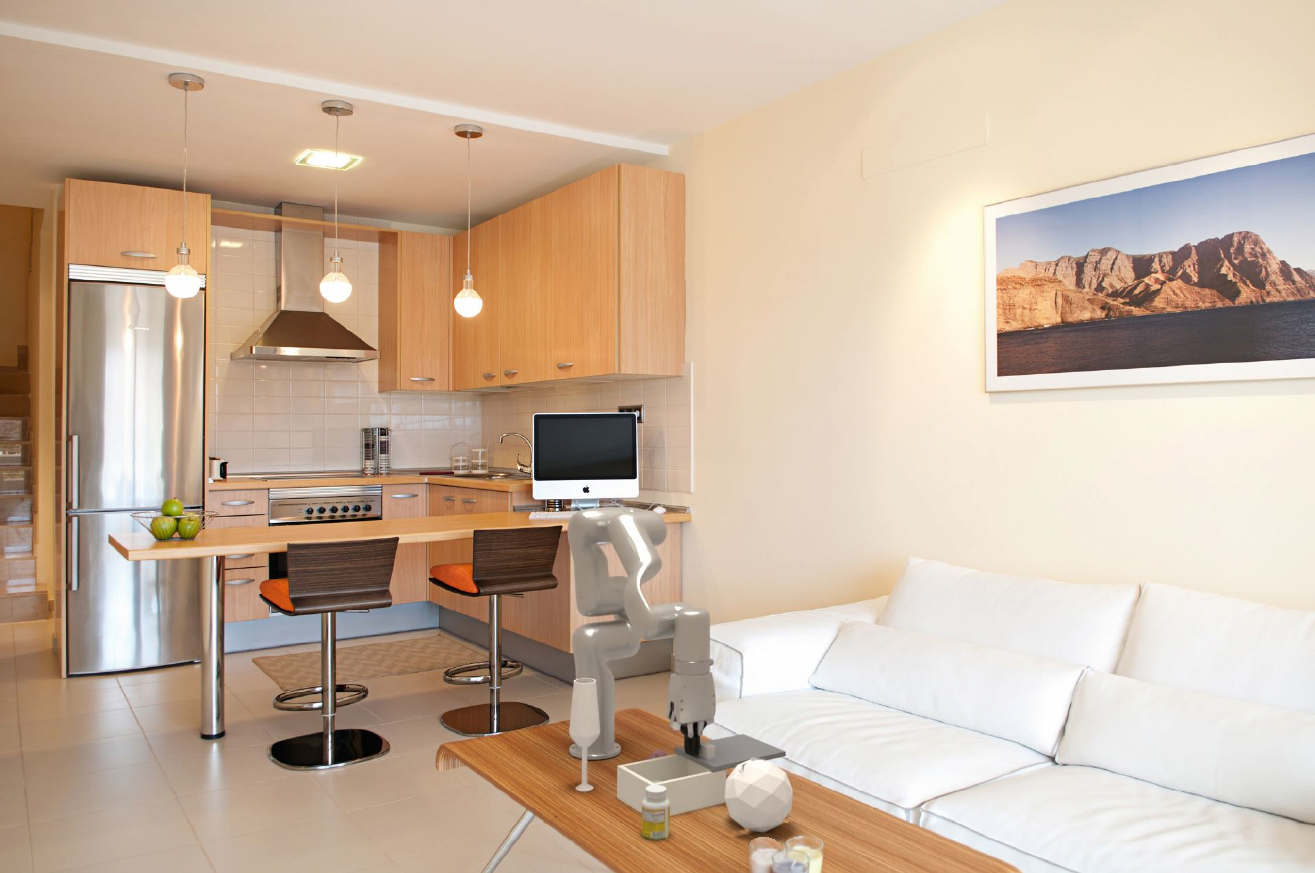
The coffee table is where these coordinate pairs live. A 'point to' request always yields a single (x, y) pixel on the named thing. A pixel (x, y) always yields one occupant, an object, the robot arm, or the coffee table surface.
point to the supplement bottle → (655, 813)
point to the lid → (731, 752)
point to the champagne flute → (584, 721)
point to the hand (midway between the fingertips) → (692, 753)
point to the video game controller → (657, 754)
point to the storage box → (671, 783)
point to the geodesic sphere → (758, 795)
